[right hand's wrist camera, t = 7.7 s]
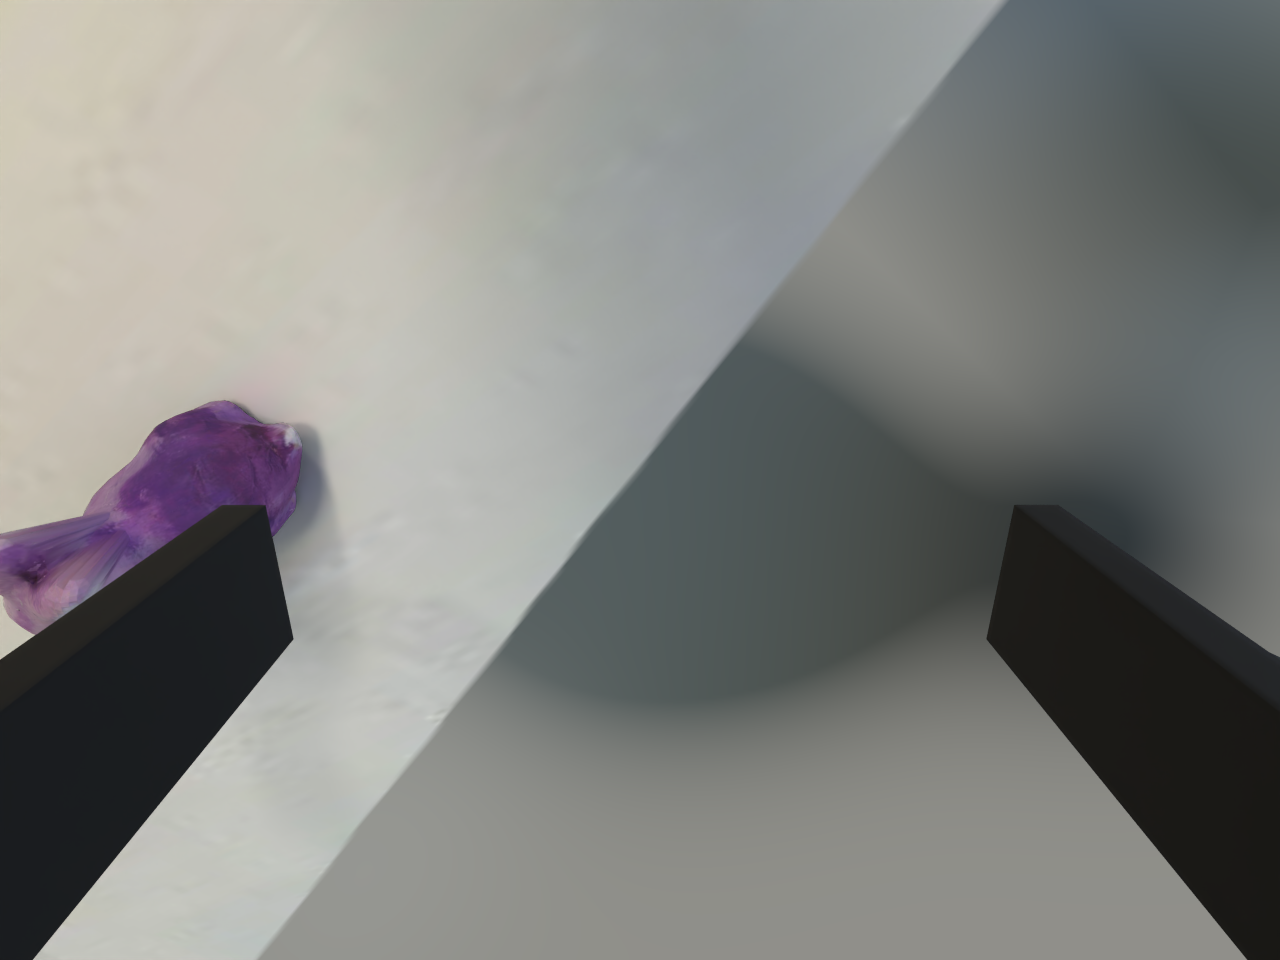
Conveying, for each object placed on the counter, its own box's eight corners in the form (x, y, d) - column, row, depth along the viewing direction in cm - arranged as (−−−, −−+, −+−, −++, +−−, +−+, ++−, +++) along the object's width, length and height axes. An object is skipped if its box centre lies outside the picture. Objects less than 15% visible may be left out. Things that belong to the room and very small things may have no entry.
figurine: (151, 538, 43) (-85, 695, 29) (148, 379, 39) (-122, 471, 25) (306, 569, 44) (149, 737, 30) (317, 416, 40) (145, 525, 26)
